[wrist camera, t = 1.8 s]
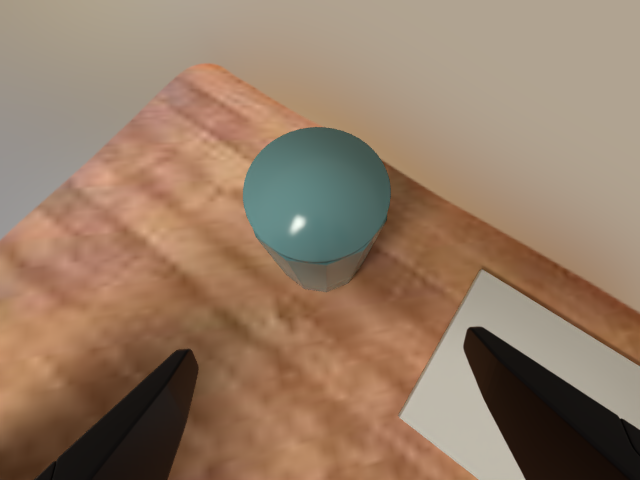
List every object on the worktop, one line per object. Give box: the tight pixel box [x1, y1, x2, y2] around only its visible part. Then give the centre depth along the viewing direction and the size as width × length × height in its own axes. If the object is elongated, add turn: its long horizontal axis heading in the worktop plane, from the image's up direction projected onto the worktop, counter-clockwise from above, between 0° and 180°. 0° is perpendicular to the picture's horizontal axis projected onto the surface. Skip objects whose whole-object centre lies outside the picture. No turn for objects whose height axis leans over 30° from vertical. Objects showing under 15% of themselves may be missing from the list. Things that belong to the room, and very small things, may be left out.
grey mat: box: [398, 269, 640, 480], centre depth 19 cm, size 20×13×1 cm, turn 54°
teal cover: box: [243, 127, 391, 292], centre depth 18 cm, size 7×7×11 cm
